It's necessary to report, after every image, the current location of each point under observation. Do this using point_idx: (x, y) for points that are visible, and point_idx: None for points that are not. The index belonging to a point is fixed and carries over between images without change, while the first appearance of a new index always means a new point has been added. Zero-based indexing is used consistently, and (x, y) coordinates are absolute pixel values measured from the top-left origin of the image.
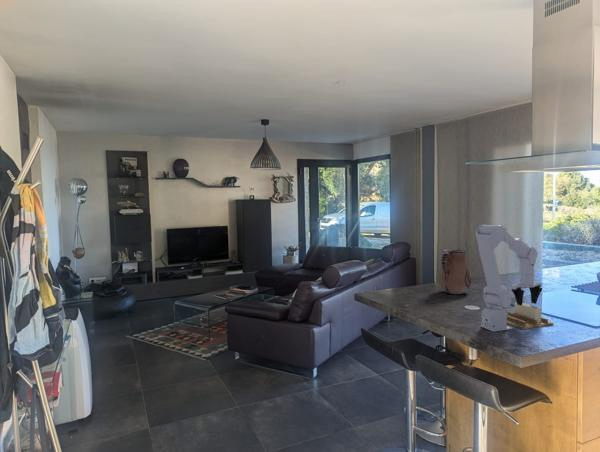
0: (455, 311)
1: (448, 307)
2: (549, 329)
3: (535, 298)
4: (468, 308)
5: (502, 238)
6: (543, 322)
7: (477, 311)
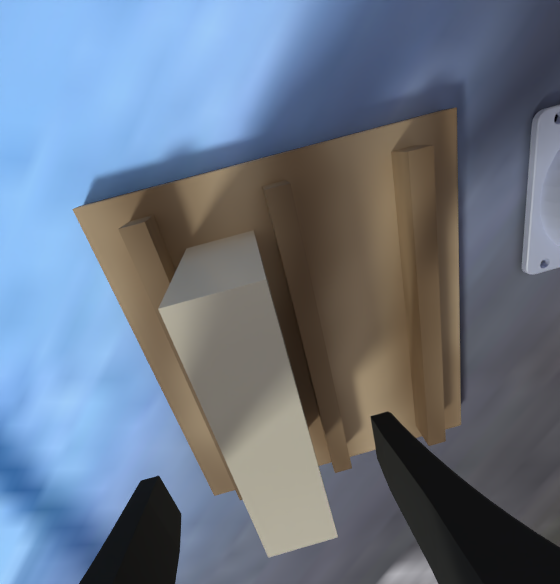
0: (544, 522)
1: None
2: (192, 58)
3: (133, 560)
4: None
5: None
6: (172, 230)
7: None
